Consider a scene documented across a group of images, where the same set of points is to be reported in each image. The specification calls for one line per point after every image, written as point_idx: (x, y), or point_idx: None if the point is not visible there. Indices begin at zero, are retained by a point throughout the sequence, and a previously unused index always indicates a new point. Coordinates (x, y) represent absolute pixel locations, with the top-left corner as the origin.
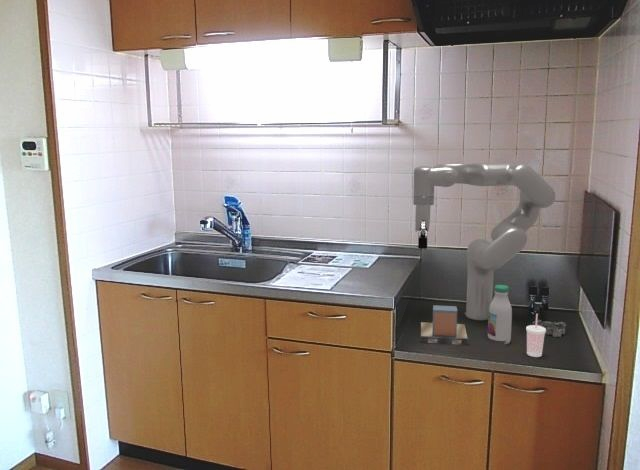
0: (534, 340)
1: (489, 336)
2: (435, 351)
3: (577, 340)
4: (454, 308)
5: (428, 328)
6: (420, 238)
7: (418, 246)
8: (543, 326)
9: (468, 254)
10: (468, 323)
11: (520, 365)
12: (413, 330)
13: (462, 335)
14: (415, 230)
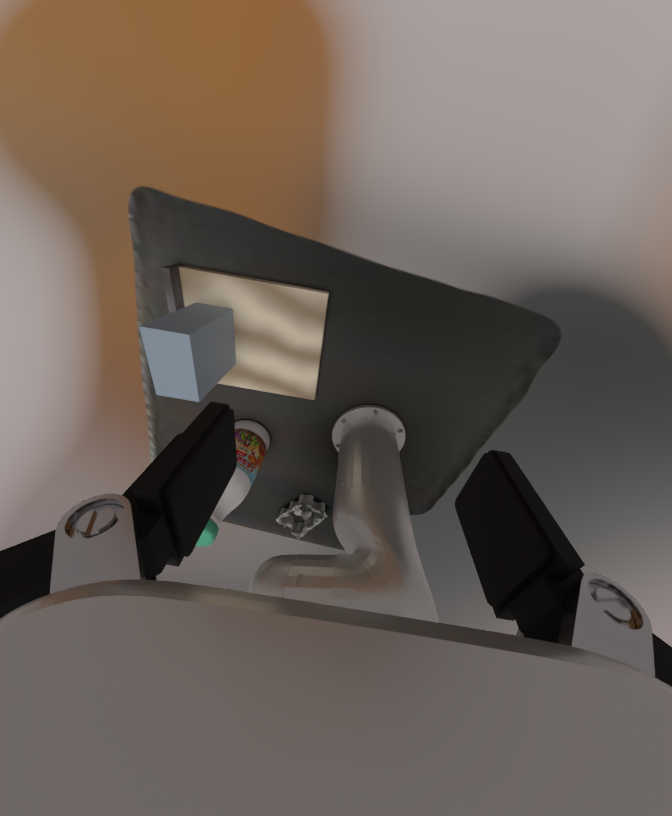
0: None
1: (236, 426)
2: (159, 299)
3: (270, 525)
4: (177, 392)
5: (278, 307)
6: (144, 503)
7: (201, 412)
8: (291, 511)
9: (378, 578)
10: (345, 410)
11: (149, 434)
12: (293, 261)
13: (242, 379)
14: (33, 611)
